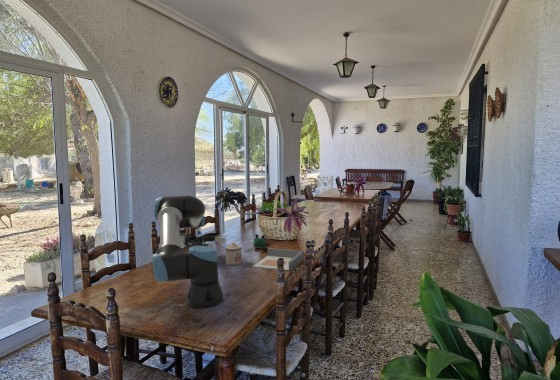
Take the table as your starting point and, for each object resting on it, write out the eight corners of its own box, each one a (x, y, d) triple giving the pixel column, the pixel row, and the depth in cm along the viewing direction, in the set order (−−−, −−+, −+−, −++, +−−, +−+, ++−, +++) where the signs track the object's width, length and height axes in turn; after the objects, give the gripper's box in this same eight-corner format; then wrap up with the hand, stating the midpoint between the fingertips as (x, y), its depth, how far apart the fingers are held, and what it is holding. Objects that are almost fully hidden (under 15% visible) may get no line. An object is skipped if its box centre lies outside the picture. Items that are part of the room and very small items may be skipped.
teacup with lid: (237, 265, 209) (236, 245, 208) (222, 264, 212) (222, 244, 211) (246, 259, 220) (246, 240, 219) (232, 258, 224) (232, 239, 222)
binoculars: (271, 234, 241) (264, 235, 233) (271, 250, 242) (263, 253, 233) (259, 232, 246) (251, 234, 237) (259, 248, 246) (251, 251, 237)
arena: (291, 271, 198) (291, 262, 198) (253, 267, 206) (252, 258, 205) (303, 259, 219) (303, 250, 218) (268, 256, 226) (268, 248, 226)
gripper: (199, 241, 239) (229, 243, 231) (175, 252, 215) (208, 255, 208) (198, 229, 238) (229, 231, 230) (174, 239, 214) (207, 242, 207)
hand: (219, 242), depth 219 cm, fingers open, 13 cm apart
